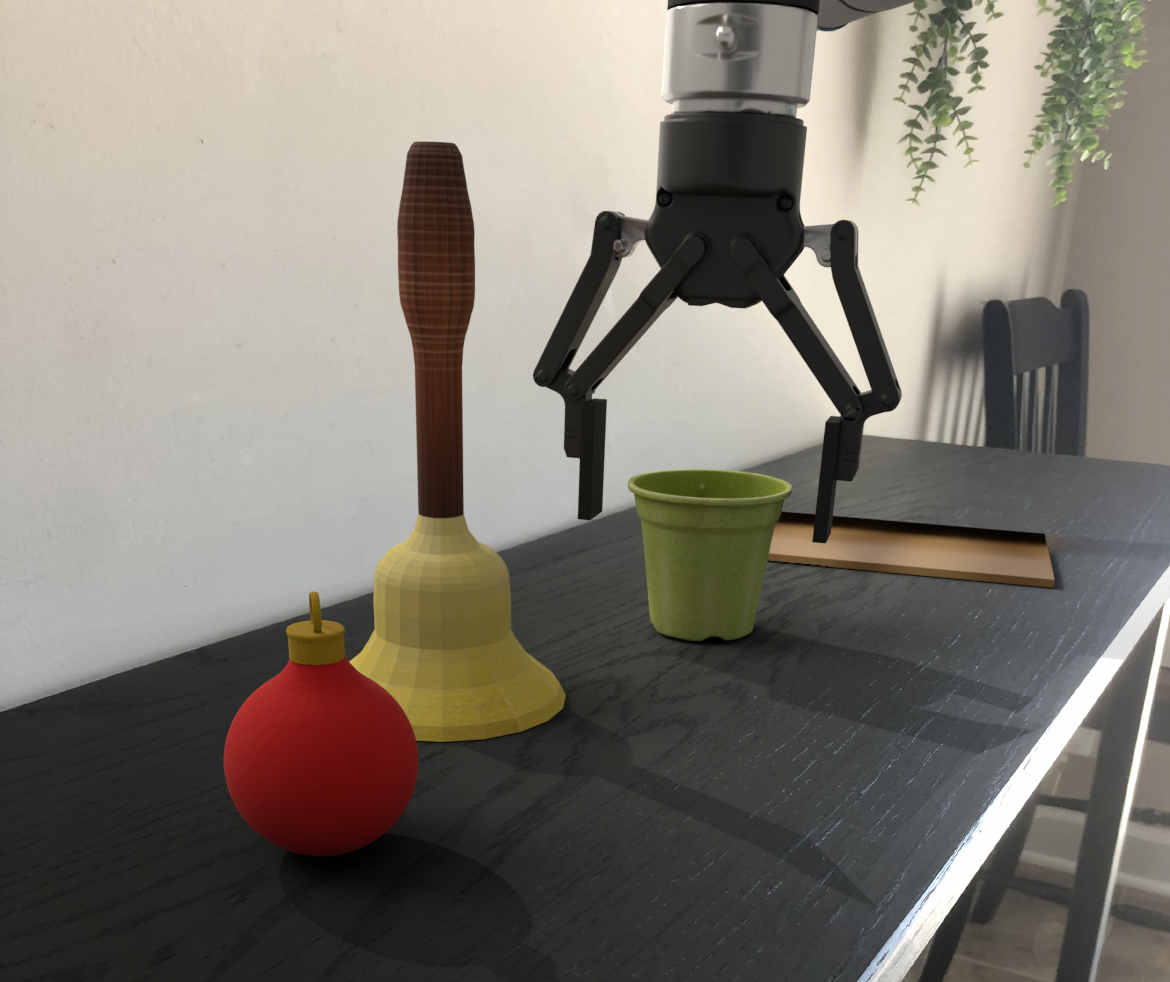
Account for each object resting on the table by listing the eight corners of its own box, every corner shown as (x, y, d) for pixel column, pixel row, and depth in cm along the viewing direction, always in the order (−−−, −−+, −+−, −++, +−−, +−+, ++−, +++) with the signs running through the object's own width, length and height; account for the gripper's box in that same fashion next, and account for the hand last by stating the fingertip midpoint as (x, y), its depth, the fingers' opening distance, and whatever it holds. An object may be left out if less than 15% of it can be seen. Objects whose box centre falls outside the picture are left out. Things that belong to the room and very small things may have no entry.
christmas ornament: (435, 878, 46) (429, 615, 42) (235, 901, 44) (209, 627, 40) (405, 799, 53) (397, 562, 48) (229, 816, 51) (205, 571, 47)
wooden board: (1041, 532, 102) (1043, 525, 102) (1053, 588, 86) (1054, 579, 86) (770, 509, 108) (771, 502, 107) (734, 558, 92) (735, 549, 92)
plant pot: (591, 632, 74) (595, 483, 71) (672, 598, 82) (679, 461, 78) (733, 664, 70) (745, 506, 66) (805, 624, 77) (819, 480, 73)
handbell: (470, 643, 72) (465, 152, 62) (616, 704, 64) (639, 148, 53) (274, 687, 64) (232, 137, 54) (411, 763, 56) (392, 129, 46)
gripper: (478, 101, 64) (477, 518, 73) (988, 109, 58) (921, 563, 67) (525, 114, 71) (519, 495, 79) (987, 122, 65) (926, 533, 73)
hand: (703, 527), depth 73 cm, fingers open, 13 cm apart
